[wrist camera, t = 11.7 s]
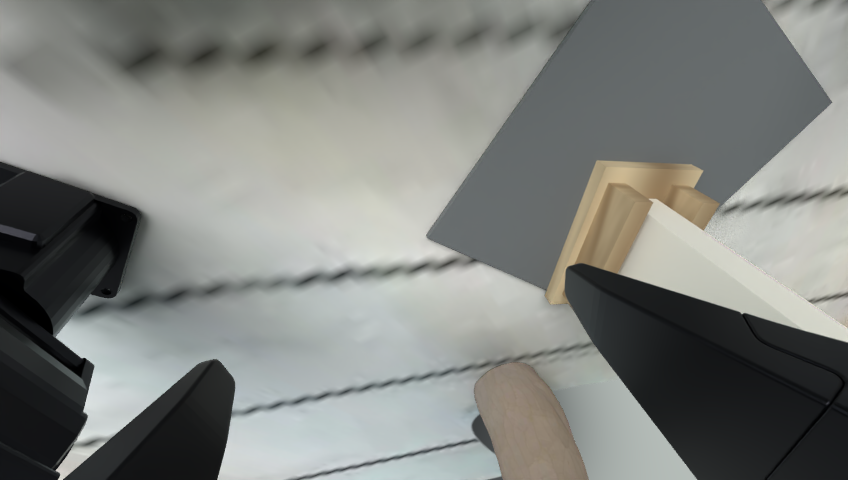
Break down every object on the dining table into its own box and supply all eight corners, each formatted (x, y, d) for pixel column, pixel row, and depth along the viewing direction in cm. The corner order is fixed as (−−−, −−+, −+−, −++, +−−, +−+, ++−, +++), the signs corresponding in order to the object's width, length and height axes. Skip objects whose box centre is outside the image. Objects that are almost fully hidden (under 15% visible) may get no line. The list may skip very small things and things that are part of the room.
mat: (600, 311, 32) (603, 315, 31) (426, 234, 24) (427, 238, 24) (825, 100, 24) (832, 102, 23) (672, -116, 16) (679, -118, 16)
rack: (544, 295, 29) (567, 329, 26) (596, 160, 23) (633, 185, 20) (623, 292, 30) (652, 324, 27) (691, 164, 24) (737, 188, 21)
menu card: (588, 283, 27) (725, 448, 18) (627, 198, 23) (829, 349, 14) (614, 282, 28) (761, 443, 18) (656, 198, 24) (872, 345, 14)
